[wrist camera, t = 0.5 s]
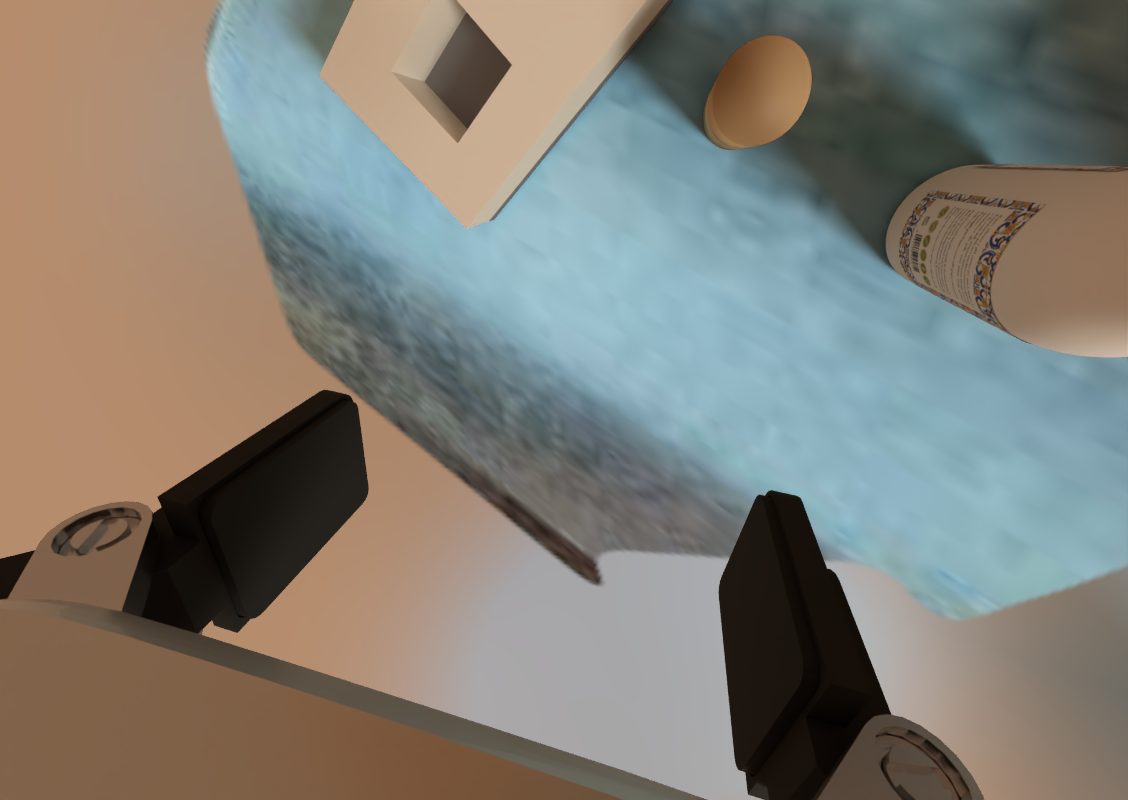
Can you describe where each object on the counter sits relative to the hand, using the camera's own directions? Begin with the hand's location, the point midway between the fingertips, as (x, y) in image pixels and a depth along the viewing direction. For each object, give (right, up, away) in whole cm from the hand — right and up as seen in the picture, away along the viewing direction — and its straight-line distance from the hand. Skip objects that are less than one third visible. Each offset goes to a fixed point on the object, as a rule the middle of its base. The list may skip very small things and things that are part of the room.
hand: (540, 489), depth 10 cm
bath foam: (+24, +13, +17) cm, 33 cm away
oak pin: (+11, +20, +17) cm, 28 cm away
